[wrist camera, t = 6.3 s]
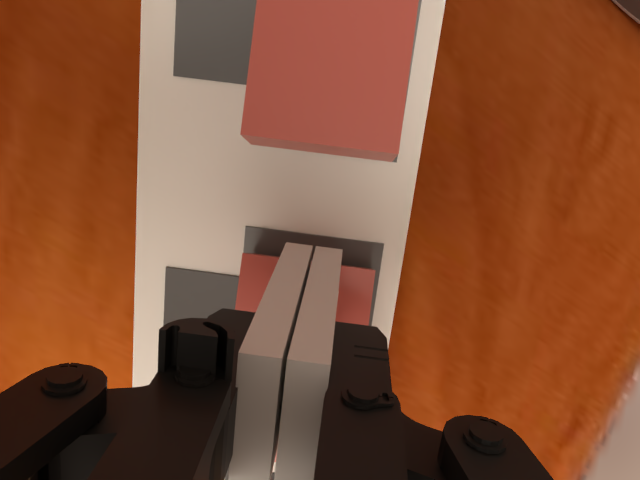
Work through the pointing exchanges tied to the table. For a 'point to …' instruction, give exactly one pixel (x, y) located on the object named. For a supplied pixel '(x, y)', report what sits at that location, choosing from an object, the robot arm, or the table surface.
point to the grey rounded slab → (630, 8)
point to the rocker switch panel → (250, 175)
